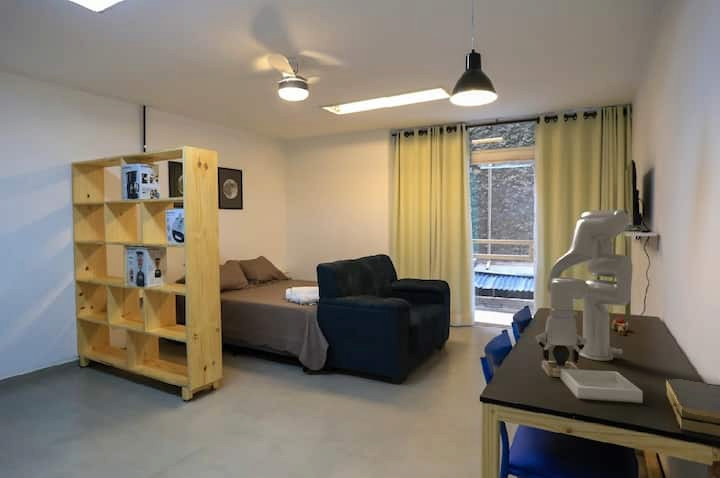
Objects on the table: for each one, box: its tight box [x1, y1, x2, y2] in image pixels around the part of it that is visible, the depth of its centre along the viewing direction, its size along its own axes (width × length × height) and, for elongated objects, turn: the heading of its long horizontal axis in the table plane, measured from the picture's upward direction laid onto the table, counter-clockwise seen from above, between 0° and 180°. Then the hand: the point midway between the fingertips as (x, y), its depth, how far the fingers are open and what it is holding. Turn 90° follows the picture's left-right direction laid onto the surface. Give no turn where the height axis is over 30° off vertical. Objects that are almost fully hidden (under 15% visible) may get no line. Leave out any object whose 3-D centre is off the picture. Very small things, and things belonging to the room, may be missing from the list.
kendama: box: [611, 317, 629, 336], centre depth 218 cm, size 8×6×18 cm
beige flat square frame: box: [541, 359, 580, 378], centre depth 153 cm, size 10×10×2 cm
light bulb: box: [552, 345, 571, 369], centre depth 153 cm, size 6×6×10 cm
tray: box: [559, 368, 644, 404], centre depth 136 cm, size 18×18×4 cm
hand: (560, 361), depth 153 cm, fingers open, 9 cm apart
